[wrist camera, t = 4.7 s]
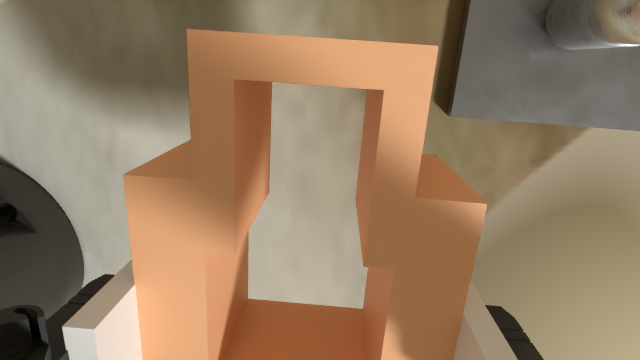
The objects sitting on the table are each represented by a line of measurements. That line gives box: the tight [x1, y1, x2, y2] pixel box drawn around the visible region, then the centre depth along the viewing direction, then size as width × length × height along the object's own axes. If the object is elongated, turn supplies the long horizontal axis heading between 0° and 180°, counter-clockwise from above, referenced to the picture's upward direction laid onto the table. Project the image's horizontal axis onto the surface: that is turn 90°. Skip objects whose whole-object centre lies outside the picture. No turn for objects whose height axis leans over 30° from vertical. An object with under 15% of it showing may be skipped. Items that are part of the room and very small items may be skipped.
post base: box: [447, 0, 640, 131], centre depth 17 cm, size 12×12×9 cm
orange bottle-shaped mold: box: [123, 29, 487, 360], centre depth 12 cm, size 12×9×5 cm
